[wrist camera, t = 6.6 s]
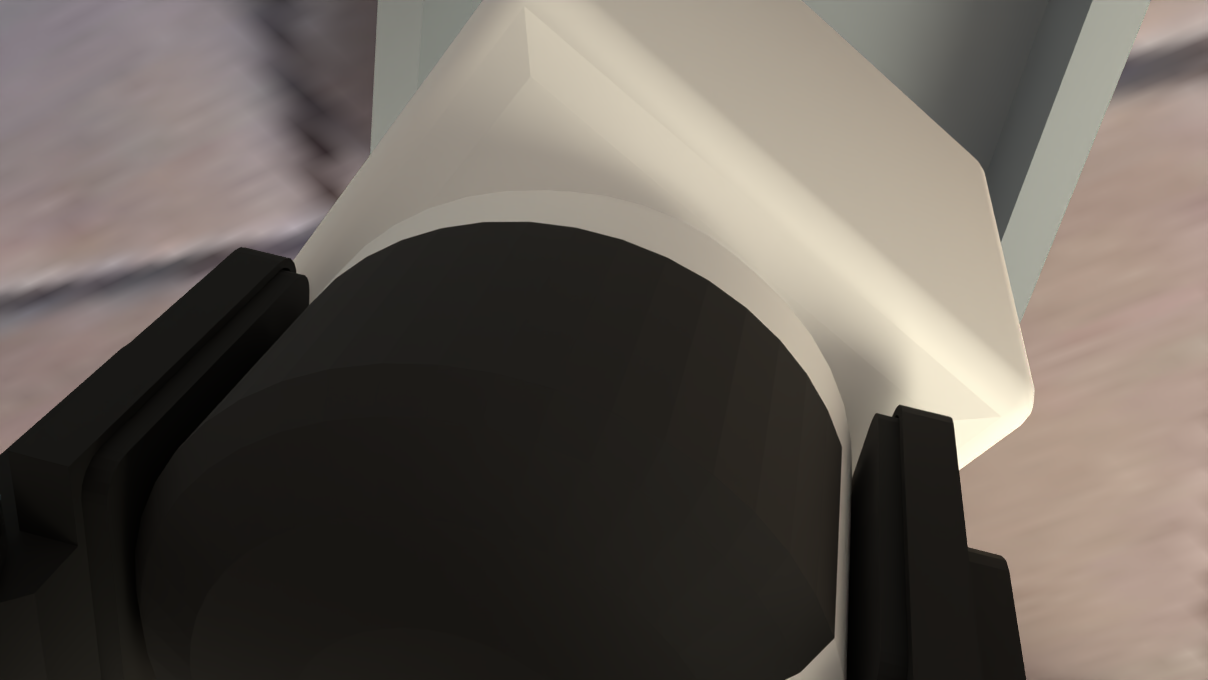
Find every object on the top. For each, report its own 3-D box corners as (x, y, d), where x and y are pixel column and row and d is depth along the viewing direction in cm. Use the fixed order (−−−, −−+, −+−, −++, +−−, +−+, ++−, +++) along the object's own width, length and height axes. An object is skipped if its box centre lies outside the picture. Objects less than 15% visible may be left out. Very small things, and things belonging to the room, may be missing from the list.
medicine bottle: (393, 186, 20) (-101, 701, 10) (647, -149, 17) (283, 116, 6) (696, 430, 21) (535, 1111, 11) (993, 167, 18) (1155, 813, 8)
